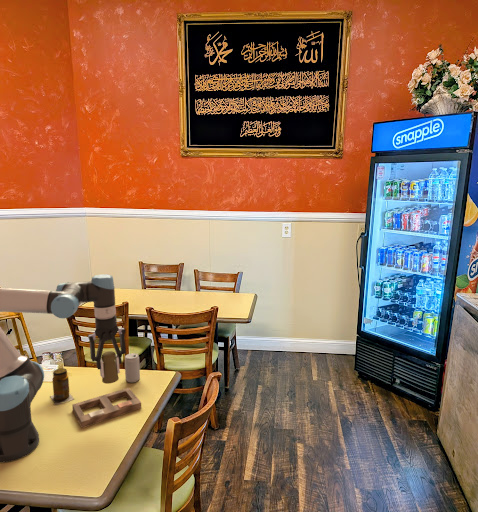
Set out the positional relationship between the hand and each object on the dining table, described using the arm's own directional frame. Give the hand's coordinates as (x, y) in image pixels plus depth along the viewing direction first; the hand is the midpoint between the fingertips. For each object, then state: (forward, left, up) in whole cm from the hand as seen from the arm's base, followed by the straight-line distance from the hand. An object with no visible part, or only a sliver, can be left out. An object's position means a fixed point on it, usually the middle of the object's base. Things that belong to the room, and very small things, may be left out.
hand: (110, 373), depth 148 cm
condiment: (-13, +24, -18) cm, 33 cm away
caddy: (0, +5, -17) cm, 18 cm away
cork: (0, 0, -2) cm, 2 cm away
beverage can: (+17, +22, -18) cm, 33 cm away
